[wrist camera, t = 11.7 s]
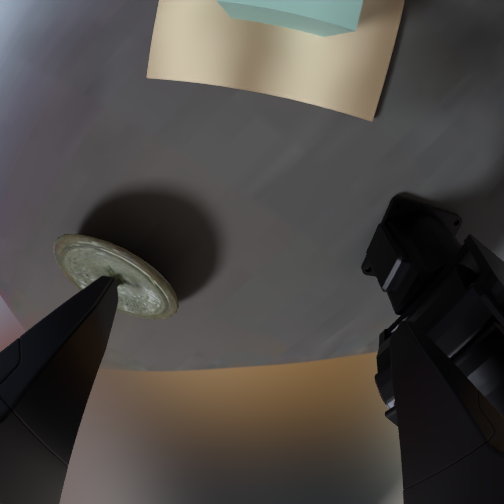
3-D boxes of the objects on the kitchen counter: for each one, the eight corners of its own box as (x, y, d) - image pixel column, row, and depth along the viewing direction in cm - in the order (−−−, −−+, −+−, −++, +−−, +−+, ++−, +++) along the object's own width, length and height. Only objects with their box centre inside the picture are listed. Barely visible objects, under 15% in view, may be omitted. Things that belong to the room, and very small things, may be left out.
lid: (208, 250, 23) (197, 298, 19) (160, 326, 28) (148, 371, 24) (78, 184, 20) (42, 220, 16) (57, 276, 25) (32, 315, 21)
